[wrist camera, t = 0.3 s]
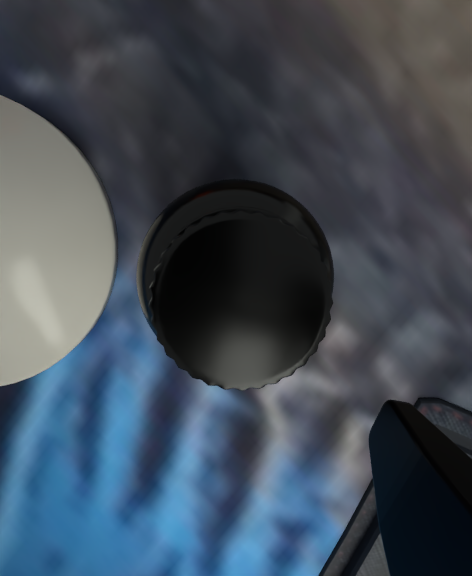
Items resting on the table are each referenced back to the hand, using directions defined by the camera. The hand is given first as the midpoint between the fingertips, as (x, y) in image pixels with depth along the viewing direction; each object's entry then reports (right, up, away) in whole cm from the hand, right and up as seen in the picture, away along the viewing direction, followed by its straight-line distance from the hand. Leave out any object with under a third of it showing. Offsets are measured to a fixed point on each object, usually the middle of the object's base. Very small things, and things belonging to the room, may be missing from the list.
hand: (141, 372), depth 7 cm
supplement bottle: (+1, +3, +15) cm, 16 cm away
